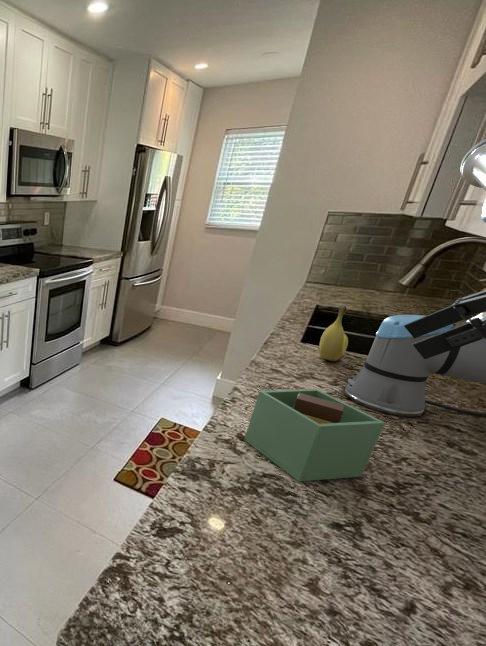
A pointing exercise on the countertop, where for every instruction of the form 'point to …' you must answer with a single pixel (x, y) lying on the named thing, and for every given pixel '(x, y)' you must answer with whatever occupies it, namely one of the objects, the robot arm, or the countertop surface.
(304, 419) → the trash bin
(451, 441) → the countertop surface
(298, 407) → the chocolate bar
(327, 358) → the banana
